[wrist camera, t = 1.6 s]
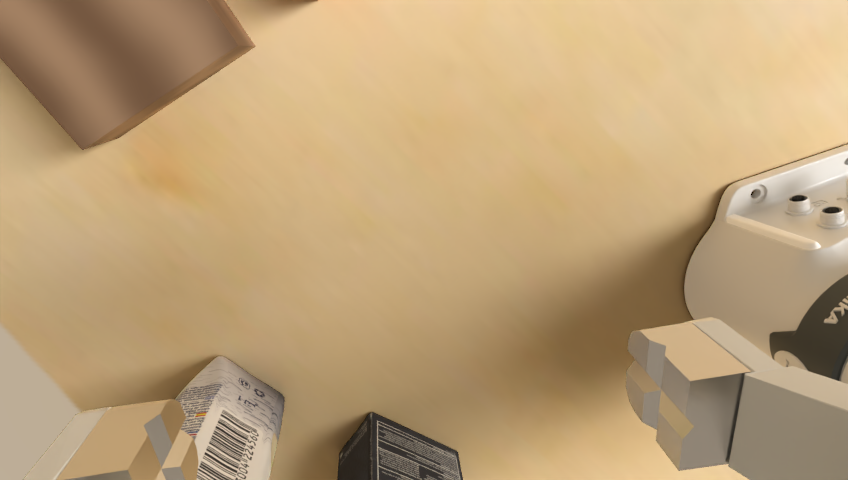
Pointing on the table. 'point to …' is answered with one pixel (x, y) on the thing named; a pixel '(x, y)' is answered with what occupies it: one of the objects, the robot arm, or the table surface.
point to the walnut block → (115, 57)
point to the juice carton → (232, 422)
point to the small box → (395, 454)
